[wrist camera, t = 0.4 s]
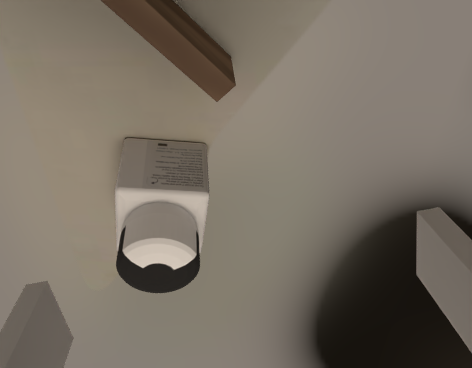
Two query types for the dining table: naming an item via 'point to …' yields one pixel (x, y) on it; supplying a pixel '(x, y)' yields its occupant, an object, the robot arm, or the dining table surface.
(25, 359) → the robot arm
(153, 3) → the board
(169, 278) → the container
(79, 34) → the dining table surface
